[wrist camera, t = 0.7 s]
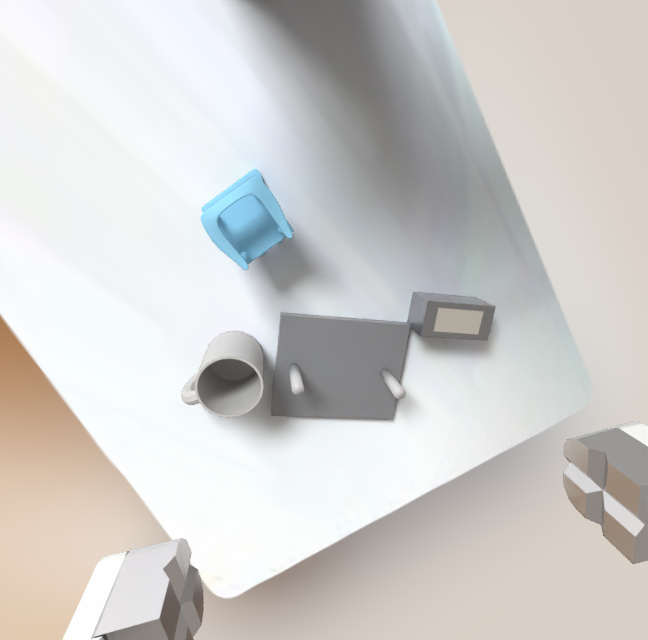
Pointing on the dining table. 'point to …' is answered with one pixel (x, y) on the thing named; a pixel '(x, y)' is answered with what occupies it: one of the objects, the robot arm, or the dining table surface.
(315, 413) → the grey peg base
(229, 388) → the cup
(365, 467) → the dining table surface
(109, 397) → the dining table surface
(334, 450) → the dining table surface
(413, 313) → the block
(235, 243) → the chair
